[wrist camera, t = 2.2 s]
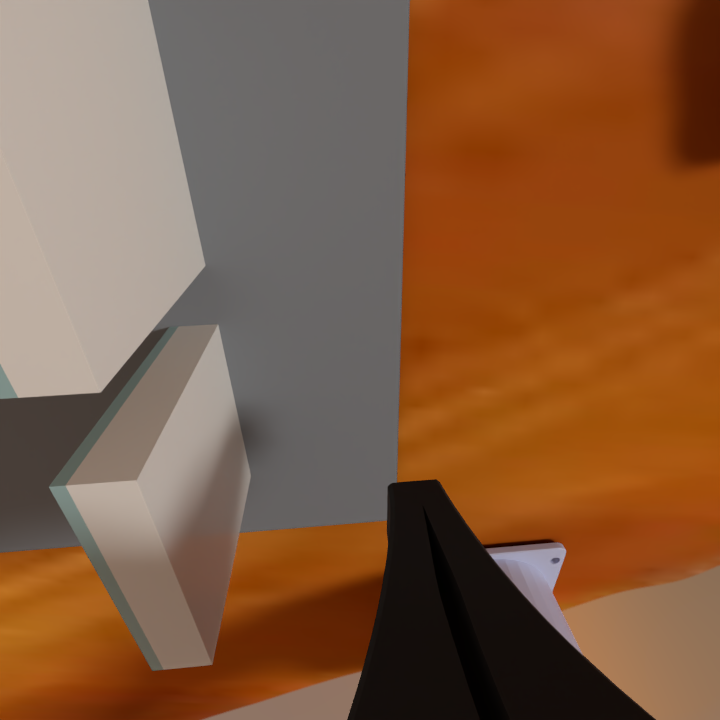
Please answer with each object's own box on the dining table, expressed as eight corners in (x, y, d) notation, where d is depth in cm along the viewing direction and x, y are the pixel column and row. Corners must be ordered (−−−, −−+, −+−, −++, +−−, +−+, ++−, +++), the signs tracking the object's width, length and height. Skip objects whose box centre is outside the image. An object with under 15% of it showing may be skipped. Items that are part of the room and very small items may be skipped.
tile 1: (251, 475, 17) (212, 664, 11) (212, 478, 17) (152, 670, 11) (218, 324, 14) (137, 480, 8) (169, 326, 14) (48, 487, 8)
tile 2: (205, 265, 13) (101, 392, 7) (152, 268, 13) (-1, 398, 7) (140, -37, 9) (-198, -335, 3) (67, -37, 9) (-418, -340, 3)
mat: (394, 512, 20) (395, 519, 19) (2, 544, 19) (-4, 552, 18) (412, -267, 8) (416, -284, 8) (-593, -290, 7) (-639, -311, 7)
